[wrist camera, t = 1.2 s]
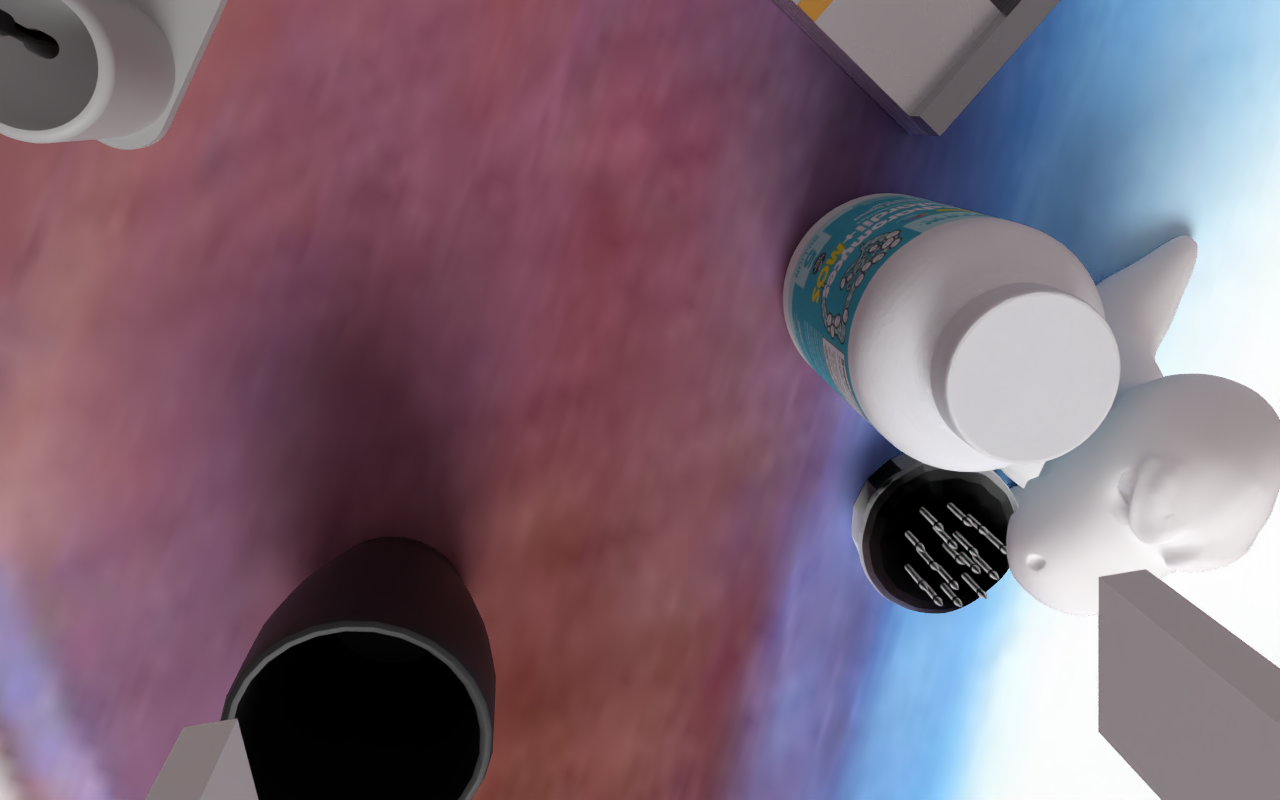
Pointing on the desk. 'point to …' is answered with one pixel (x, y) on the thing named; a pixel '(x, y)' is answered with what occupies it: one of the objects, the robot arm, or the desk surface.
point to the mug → (370, 683)
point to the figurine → (1089, 481)
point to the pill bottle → (953, 331)
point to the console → (919, 49)
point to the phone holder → (99, 67)
